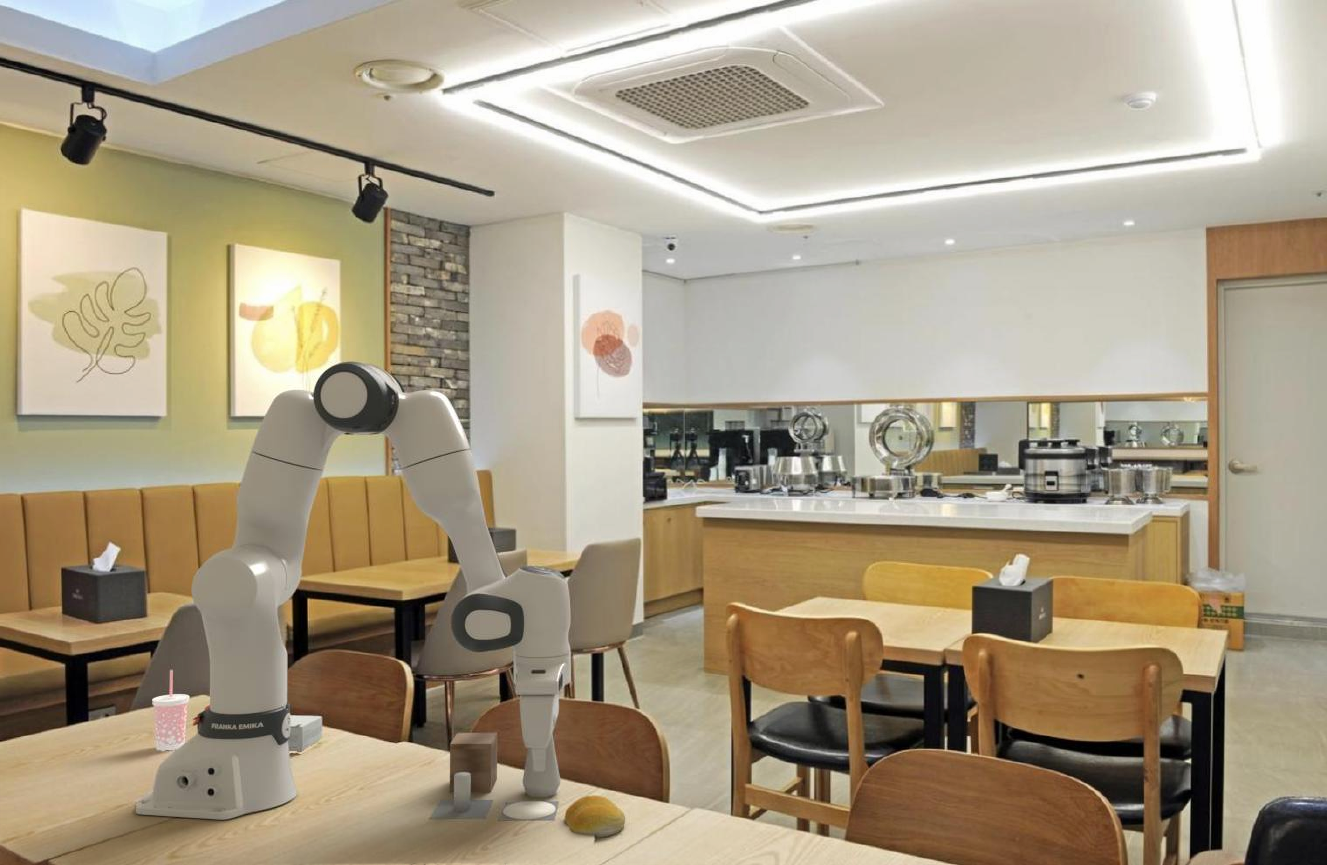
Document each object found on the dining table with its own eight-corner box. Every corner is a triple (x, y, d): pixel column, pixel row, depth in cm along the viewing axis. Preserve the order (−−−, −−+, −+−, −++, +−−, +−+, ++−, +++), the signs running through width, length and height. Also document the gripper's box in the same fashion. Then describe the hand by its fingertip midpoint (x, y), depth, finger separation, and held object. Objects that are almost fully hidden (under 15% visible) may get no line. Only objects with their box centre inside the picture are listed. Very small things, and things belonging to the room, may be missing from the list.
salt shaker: (553, 804, 154) (553, 717, 154) (517, 801, 155) (517, 715, 155) (564, 791, 159) (565, 708, 160) (530, 789, 161) (530, 706, 161)
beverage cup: (178, 752, 181) (179, 673, 182) (144, 752, 181) (145, 673, 182) (195, 742, 187) (196, 666, 188) (162, 742, 187) (163, 666, 188)
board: (429, 822, 146) (429, 783, 146) (440, 803, 154) (440, 766, 154) (485, 822, 146) (485, 782, 146) (493, 803, 154) (493, 766, 154)
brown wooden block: (449, 795, 157) (450, 743, 158) (457, 782, 164) (457, 732, 164) (491, 795, 158) (491, 743, 158) (496, 782, 164) (497, 732, 164)
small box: (283, 741, 189) (283, 713, 189) (323, 743, 188) (323, 715, 188) (260, 753, 181) (261, 724, 181) (302, 755, 180) (302, 726, 180)
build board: (498, 824, 145) (498, 819, 145) (505, 805, 153) (505, 800, 153) (554, 823, 145) (554, 818, 145) (558, 805, 153) (558, 799, 153)
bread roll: (576, 843, 139) (576, 813, 139) (559, 821, 147) (559, 793, 147) (634, 835, 141) (634, 806, 142) (614, 814, 150) (614, 786, 150)
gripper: (529, 658, 168) (529, 742, 168) (513, 685, 148) (514, 781, 147) (567, 658, 168) (567, 742, 168) (557, 685, 148) (557, 781, 147)
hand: (542, 761), depth 157 cm, fingers open, 8 cm apart
